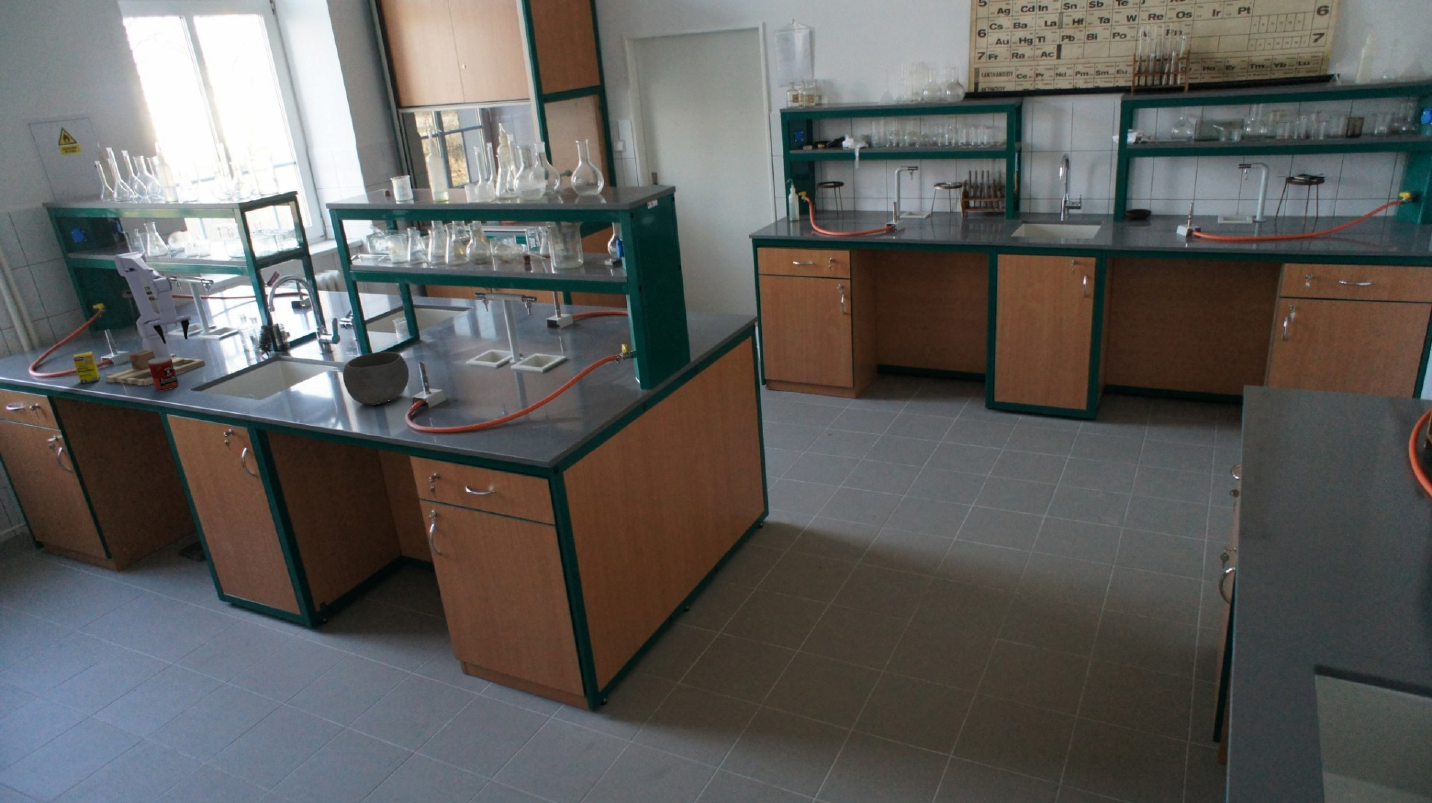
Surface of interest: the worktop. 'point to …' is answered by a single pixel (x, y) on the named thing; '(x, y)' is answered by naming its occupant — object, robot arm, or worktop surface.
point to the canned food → (163, 373)
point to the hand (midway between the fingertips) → (175, 341)
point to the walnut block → (141, 359)
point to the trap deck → (145, 375)
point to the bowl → (376, 377)
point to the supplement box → (86, 367)
